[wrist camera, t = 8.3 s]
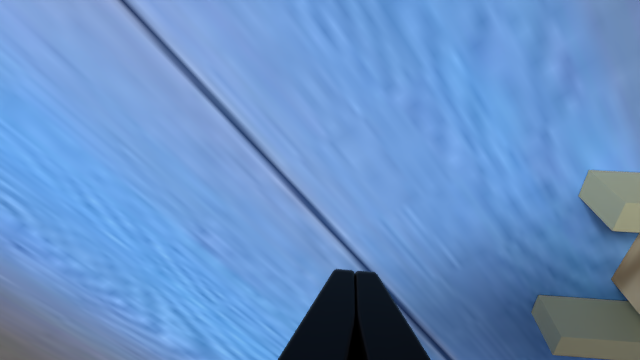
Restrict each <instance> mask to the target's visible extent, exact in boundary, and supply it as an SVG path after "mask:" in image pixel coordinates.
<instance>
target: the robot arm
mask: <svg viewBox="0 0 640 360" xmlns="http://www.w3.org/2000/svg"><path fill="white" fill-rule="evenodd" d="M278 360H431V359H430V358H429V356H428V355H427V353H426V351H425V350H424V348H423V347H422V345H421V343H420V342H419V340H418V339H417V337H416V335H415V334H414V332H413V331H412V329H411V327H410V326H409V324H408V323H407V321H406V320H405V318H404V316H403V315H402V313H401V312H400V310H399V308H398V307H397V305H396V304H395V302H394V300H393V299H392V297H391V296H390V294H389V292H388V291H387V289H386V288H385V286H384V285H383V283H382V281H381V280H380V278H379V277H378V275H377V274H376V273H375V272H369V271H357V272H356V273H354V271H352V270H342V269H336V270H334V271H333V272H332V274H331V276H330V277H329V279H328V280H327V282H326V284H325V285H324V287H323V288H322V290H321V291H320V293H319V295H318V296H317V298H316V299H315V301H314V303H313V304H312V306H311V307H310V309H309V311H308V312H307V314H306V315H305V317H304V319H303V320H302V322H301V323H300V325H299V327H298V328H297V330H296V331H295V333H294V335H293V336H292V338H291V339H290V341H289V343H288V344H287V346H286V347H285V349H284V350H283V352H282V354H281V355H280V357H279V358H278Z"/></svg>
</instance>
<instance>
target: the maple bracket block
mask: <svg viewBox="0 0 640 360" xmlns="http://www.w3.org/2000/svg"><path fill="white" fill-rule="evenodd" d="M611 280H612V281H613V282H614V284H615V285H616V286H617V287H618V289H619V290H620V291H621V292H622V293H623V295H624V296H625V297H626V298H627V300H628V301H629V302H630V303H631V304H632V306H633V307H634V308H635V309H636V311H637V312H638V313H639V314H640V233H639V234H638V236H637V238H636V239H635V241H634V242H633V244H632V246H631V247H630V249H629V251H628V252H627V254H626V256H625V257H624V259H623V260H622V262H621V264H620V265H619V267H618V269H617V270H616V272H615V273H614V275H613V277H612V278H611Z"/></svg>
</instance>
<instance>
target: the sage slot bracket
mask: <svg viewBox="0 0 640 360" xmlns="http://www.w3.org/2000/svg"><path fill="white" fill-rule="evenodd" d="M579 197H580V198H581V199H582V200H583V201H584V202H585V203H586V204H587V205H588V206H589V207H590V208H591V209H592V210H593V212H594V213H595V214H596V215H597V216H598V217H599V218H600V219H601V220H602V221H603V222H604V223H605V224H606V225H607V226H608V227H609V228H610V229H611V230H612V231H620V232H636V233H640V173H635V172H616V171H597V170H589V171H588V174H587V176H586V179H585V181H584V184H583V186H582V189H581V191H580V194H579ZM531 313H532V315H533V317H534V319H535V321H536V323H537V325H538V327H539V329H540V331H541V333H542V335H543V337H544V339H545V341H546V343H547V345H548V347H549V349H550V351H551V353H552V355H559V356H572V357H585V358H598V359H610V360H640V314H639V313H638V312H637V311H636V309H635V308H634V307H633V306H632V304H631V303H630V302H629V301H618V300H603V299H589V298H575V297H560V296H546V295H538V297H537V299H536V302H535V304H534V307H533V309H532V312H531Z"/></svg>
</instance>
